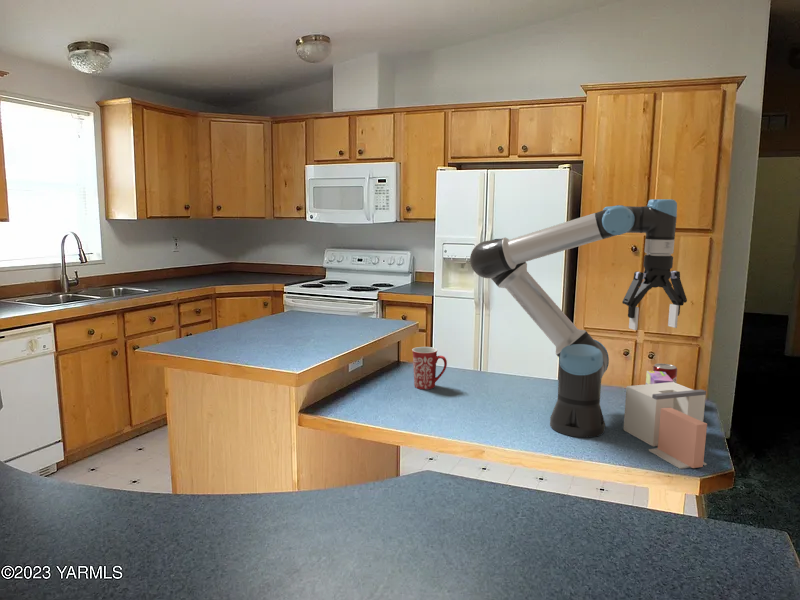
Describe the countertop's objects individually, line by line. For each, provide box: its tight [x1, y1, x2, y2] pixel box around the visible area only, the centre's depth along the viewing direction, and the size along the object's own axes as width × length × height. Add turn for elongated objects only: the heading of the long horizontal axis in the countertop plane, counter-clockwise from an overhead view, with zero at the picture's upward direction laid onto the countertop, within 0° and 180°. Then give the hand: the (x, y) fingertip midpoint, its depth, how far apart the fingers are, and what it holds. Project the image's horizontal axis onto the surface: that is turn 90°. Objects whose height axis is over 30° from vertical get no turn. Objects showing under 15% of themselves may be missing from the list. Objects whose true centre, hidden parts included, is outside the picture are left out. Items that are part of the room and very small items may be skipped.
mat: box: [648, 447, 707, 470], centre depth 144 cm, size 8×11×1 cm
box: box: [645, 370, 674, 384], centre depth 177 cm, size 10×6×12 cm, turn 168°
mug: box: [411, 346, 448, 390], centre depth 199 cm, size 13×9×14 cm
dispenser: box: [623, 382, 707, 447], centre depth 158 cm, size 16×12×14 cm
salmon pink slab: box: [657, 407, 708, 469], centre depth 143 cm, size 3×12×11 cm, turn 17°
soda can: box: [652, 362, 678, 383], centre depth 187 cm, size 7×7×12 cm
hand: (652, 328), depth 164 cm, fingers open, 13 cm apart
